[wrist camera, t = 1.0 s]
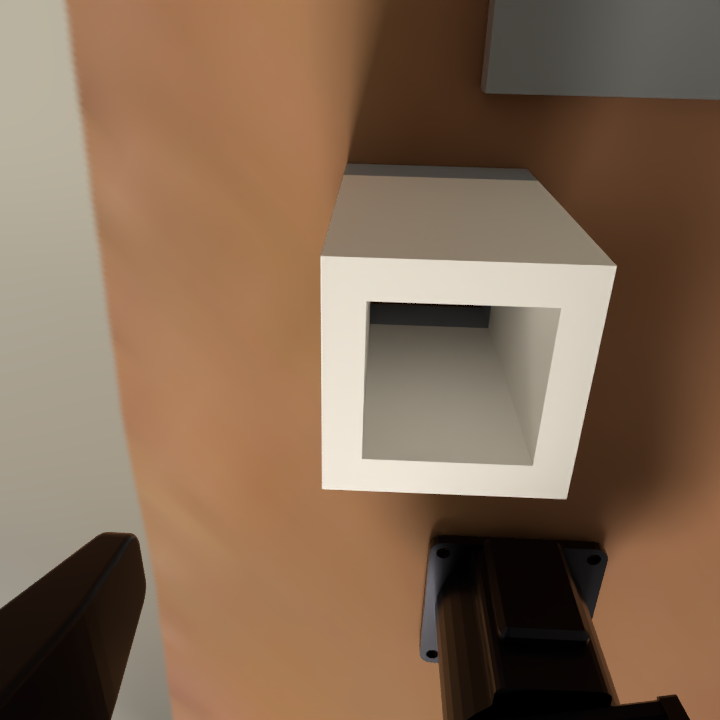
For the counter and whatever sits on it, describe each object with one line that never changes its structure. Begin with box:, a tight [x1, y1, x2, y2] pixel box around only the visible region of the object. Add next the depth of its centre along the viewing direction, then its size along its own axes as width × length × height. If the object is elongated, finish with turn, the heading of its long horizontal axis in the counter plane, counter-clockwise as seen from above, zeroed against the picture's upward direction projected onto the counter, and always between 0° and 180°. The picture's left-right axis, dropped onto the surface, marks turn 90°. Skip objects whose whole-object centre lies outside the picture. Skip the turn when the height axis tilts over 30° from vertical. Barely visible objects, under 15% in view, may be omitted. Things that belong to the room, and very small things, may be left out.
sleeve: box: [321, 163, 617, 499], centre depth 16 cm, size 5×5×8 cm
